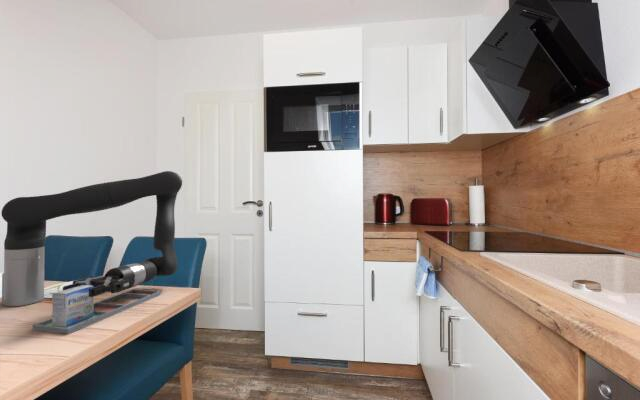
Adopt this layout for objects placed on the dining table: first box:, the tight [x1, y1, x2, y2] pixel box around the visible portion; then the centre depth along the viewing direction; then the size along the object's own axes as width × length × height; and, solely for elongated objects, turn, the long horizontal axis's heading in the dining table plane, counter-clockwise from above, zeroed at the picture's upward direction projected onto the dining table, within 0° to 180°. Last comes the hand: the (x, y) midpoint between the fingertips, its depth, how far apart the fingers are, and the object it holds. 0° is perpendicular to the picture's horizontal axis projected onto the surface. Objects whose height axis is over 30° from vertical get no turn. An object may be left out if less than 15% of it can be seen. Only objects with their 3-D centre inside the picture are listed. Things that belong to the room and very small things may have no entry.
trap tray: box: [32, 288, 162, 335], centre depth 92 cm, size 11×32×1 cm, turn 169°
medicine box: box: [51, 285, 95, 327], centre depth 82 cm, size 8×4×9 cm, turn 169°
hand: (76, 291), depth 82 cm, fingers open, 8 cm apart
